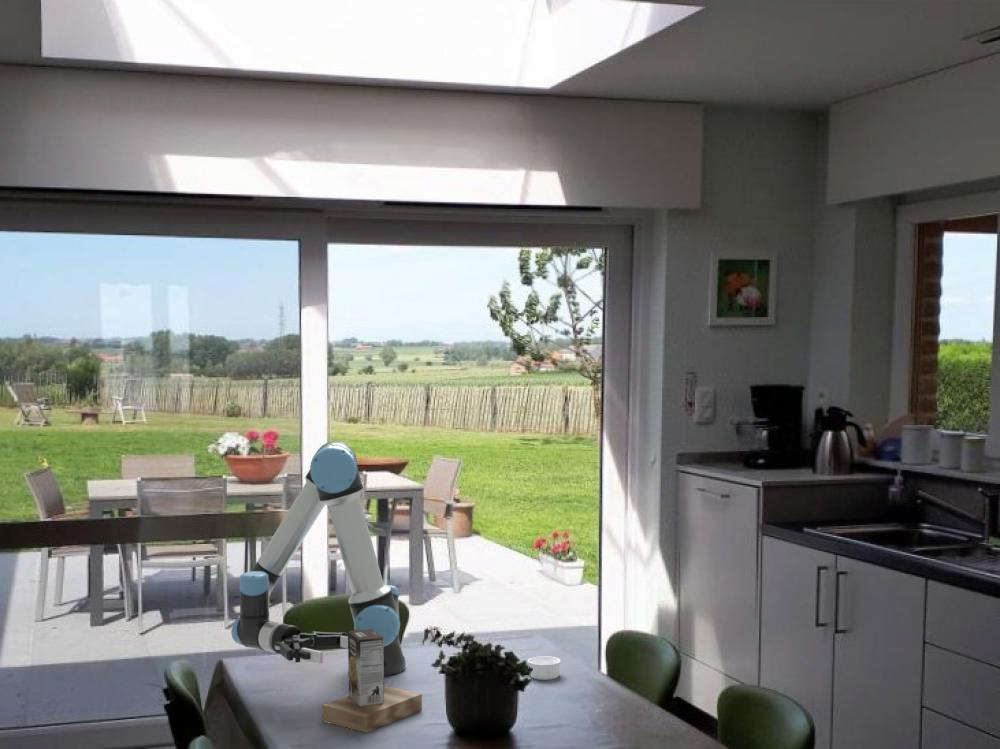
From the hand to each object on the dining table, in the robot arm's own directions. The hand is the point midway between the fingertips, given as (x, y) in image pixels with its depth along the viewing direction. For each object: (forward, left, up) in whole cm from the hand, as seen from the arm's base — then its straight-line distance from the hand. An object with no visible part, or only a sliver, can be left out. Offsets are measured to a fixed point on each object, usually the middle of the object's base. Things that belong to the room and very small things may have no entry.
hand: (341, 651), depth 293 cm
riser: (-1, +9, -14) cm, 17 cm away
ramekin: (-52, +24, -15) cm, 59 cm away
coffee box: (0, +8, -11) cm, 13 cm away
